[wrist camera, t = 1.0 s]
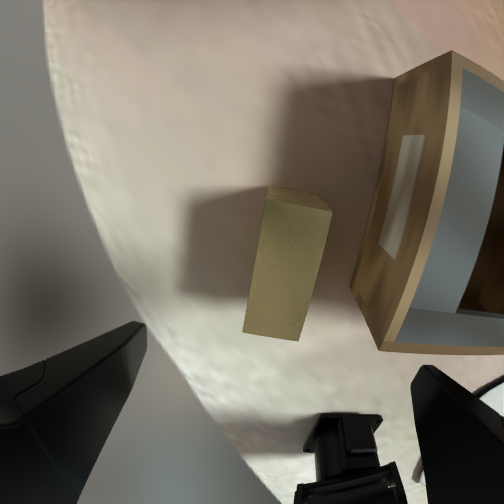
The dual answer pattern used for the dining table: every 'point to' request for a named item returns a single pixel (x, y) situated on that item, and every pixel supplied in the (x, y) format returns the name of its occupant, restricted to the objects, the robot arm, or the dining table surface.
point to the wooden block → (286, 262)
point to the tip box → (438, 216)
